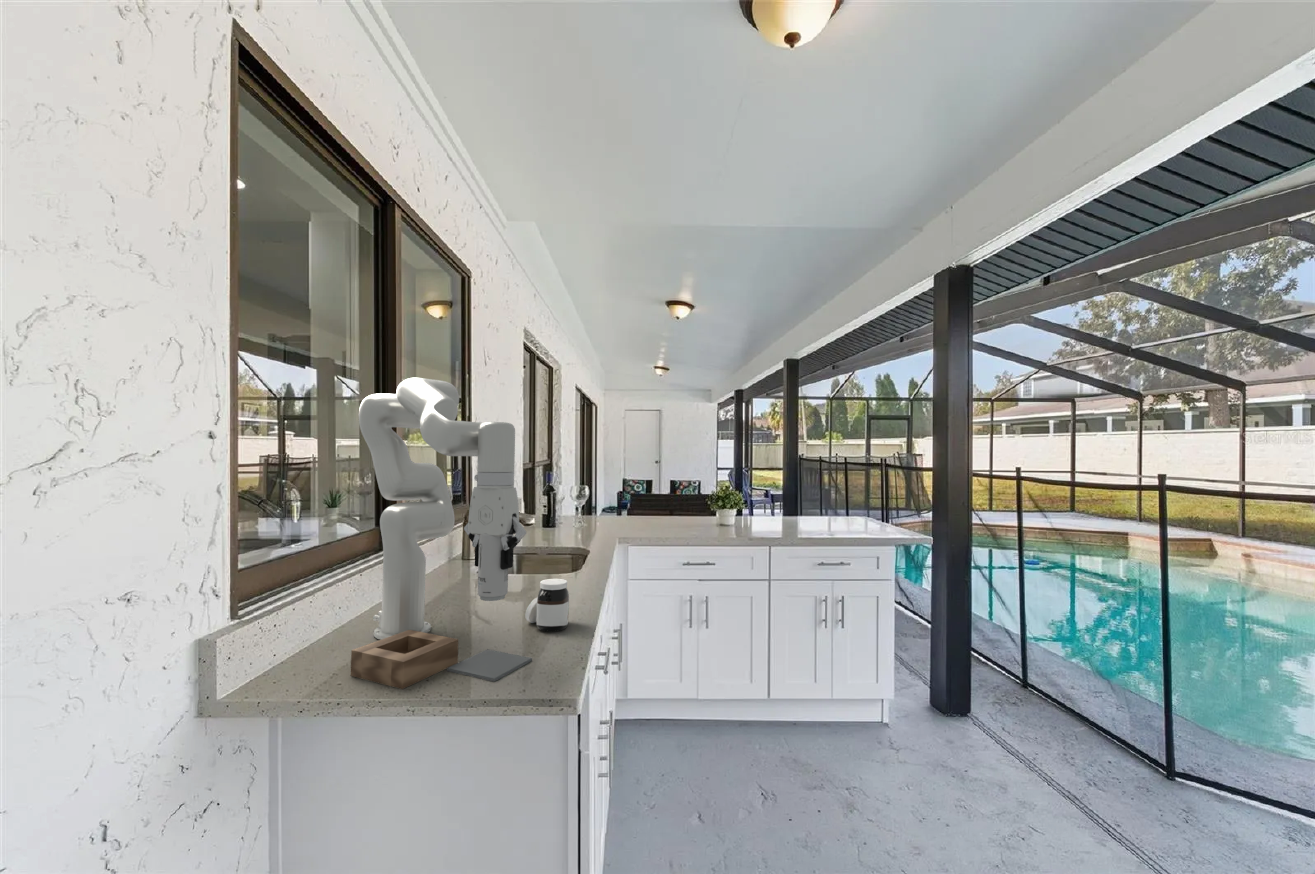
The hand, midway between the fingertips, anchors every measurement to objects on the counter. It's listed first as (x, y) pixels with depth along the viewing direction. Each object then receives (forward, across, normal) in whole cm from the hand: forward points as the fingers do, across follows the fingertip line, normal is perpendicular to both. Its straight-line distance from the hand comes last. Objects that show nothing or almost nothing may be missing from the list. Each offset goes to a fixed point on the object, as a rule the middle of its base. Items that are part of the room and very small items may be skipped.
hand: (493, 566), depth 114 cm
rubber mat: (+21, 0, 0) cm, 21 cm away
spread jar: (+21, -5, +27) cm, 35 cm away
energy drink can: (+7, 0, 0) cm, 7 cm away
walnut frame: (+21, -14, -9) cm, 27 cm away
